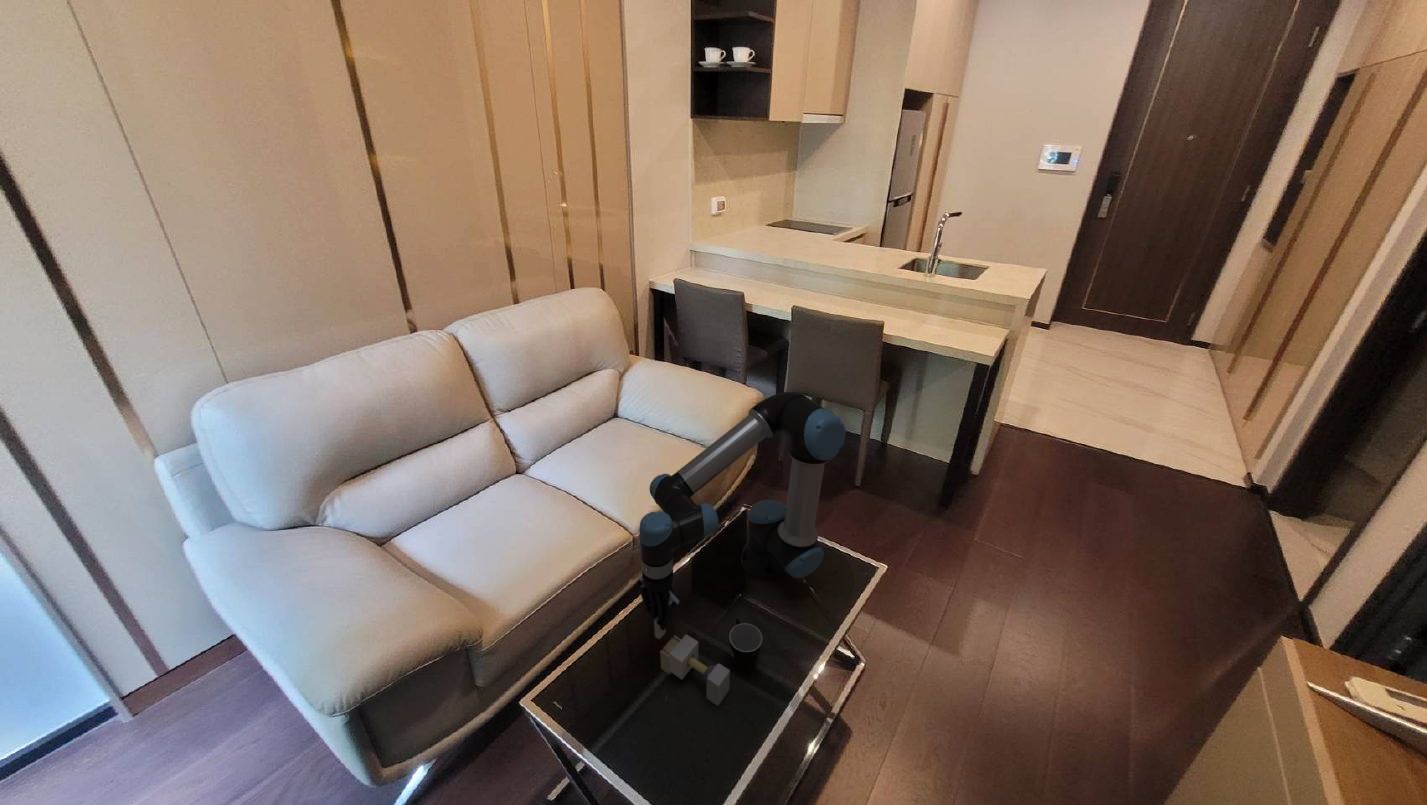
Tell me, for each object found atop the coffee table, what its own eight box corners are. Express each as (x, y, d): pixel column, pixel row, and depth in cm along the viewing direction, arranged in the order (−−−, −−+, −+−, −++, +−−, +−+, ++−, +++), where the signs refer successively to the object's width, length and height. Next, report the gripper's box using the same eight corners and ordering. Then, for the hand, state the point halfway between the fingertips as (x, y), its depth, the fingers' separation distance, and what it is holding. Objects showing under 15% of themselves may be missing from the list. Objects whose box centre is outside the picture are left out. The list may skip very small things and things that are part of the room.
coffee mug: (757, 680, 136) (760, 655, 131) (725, 673, 137) (726, 648, 132) (763, 641, 146) (765, 617, 141) (732, 636, 147) (734, 611, 142)
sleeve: (669, 671, 135) (669, 653, 131) (686, 651, 140) (686, 634, 136) (682, 679, 133) (681, 662, 129) (698, 659, 138) (698, 642, 134)
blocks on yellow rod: (660, 668, 138) (660, 648, 134) (675, 652, 142) (674, 632, 139) (716, 707, 129) (717, 687, 125) (730, 689, 133) (731, 669, 130)
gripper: (627, 566, 127) (632, 631, 138) (668, 591, 120) (670, 657, 131) (647, 548, 132) (651, 612, 143) (688, 571, 126) (688, 637, 137)
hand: (660, 634), depth 137 cm, fingers closed
